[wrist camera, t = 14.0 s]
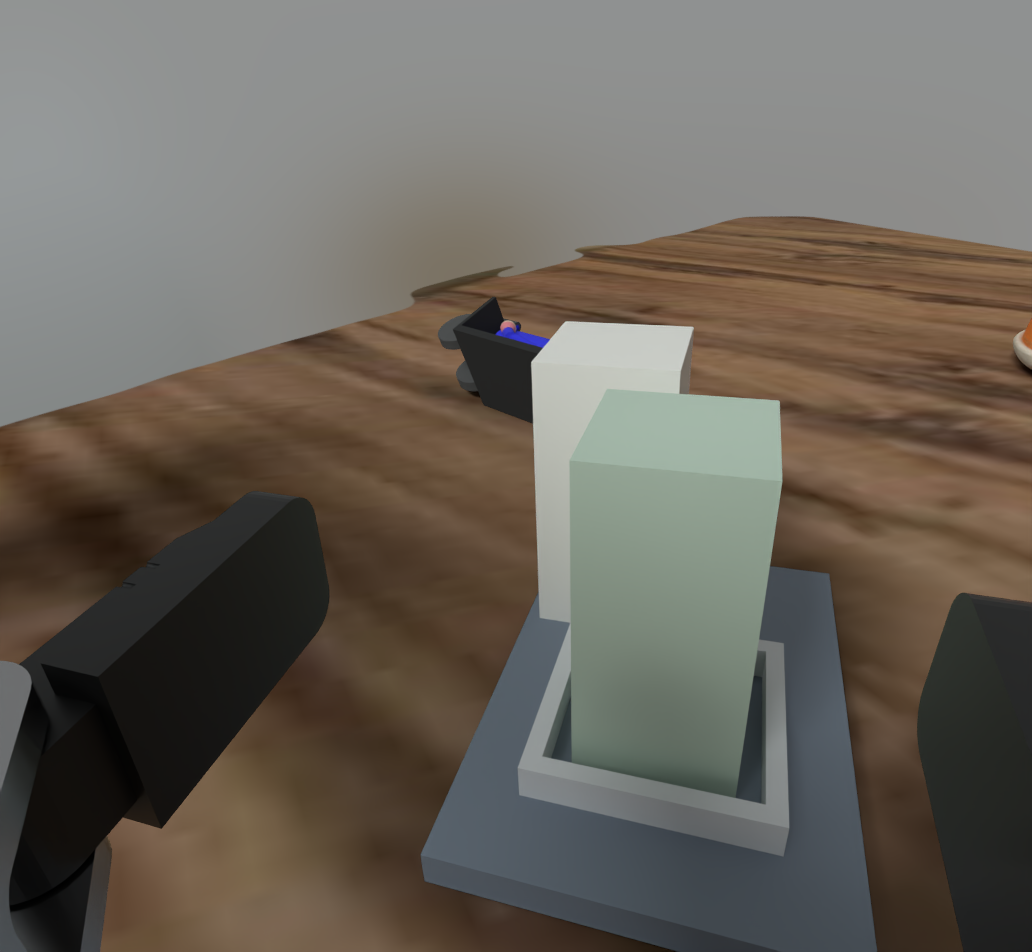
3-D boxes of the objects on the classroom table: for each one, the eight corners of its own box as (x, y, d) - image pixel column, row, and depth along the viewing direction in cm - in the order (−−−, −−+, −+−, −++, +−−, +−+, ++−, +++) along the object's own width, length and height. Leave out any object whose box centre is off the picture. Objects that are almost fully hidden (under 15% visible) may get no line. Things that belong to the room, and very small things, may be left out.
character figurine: (495, 381, 59) (639, 434, 49) (422, 399, 55) (565, 462, 45) (496, 283, 56) (651, 319, 46) (419, 294, 51) (572, 337, 41)
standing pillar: (539, 617, 30) (531, 362, 25) (567, 551, 34) (565, 321, 29) (662, 637, 28) (680, 371, 23) (676, 566, 33) (693, 327, 27)
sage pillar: (571, 768, 23) (569, 460, 18) (601, 662, 27) (607, 388, 22) (734, 804, 22) (782, 481, 17) (740, 687, 26) (779, 400, 21)
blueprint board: (424, 881, 21) (415, 827, 20) (562, 559, 36) (561, 518, 34) (871, 1005, 18) (890, 949, 17) (824, 595, 32) (833, 550, 31)
